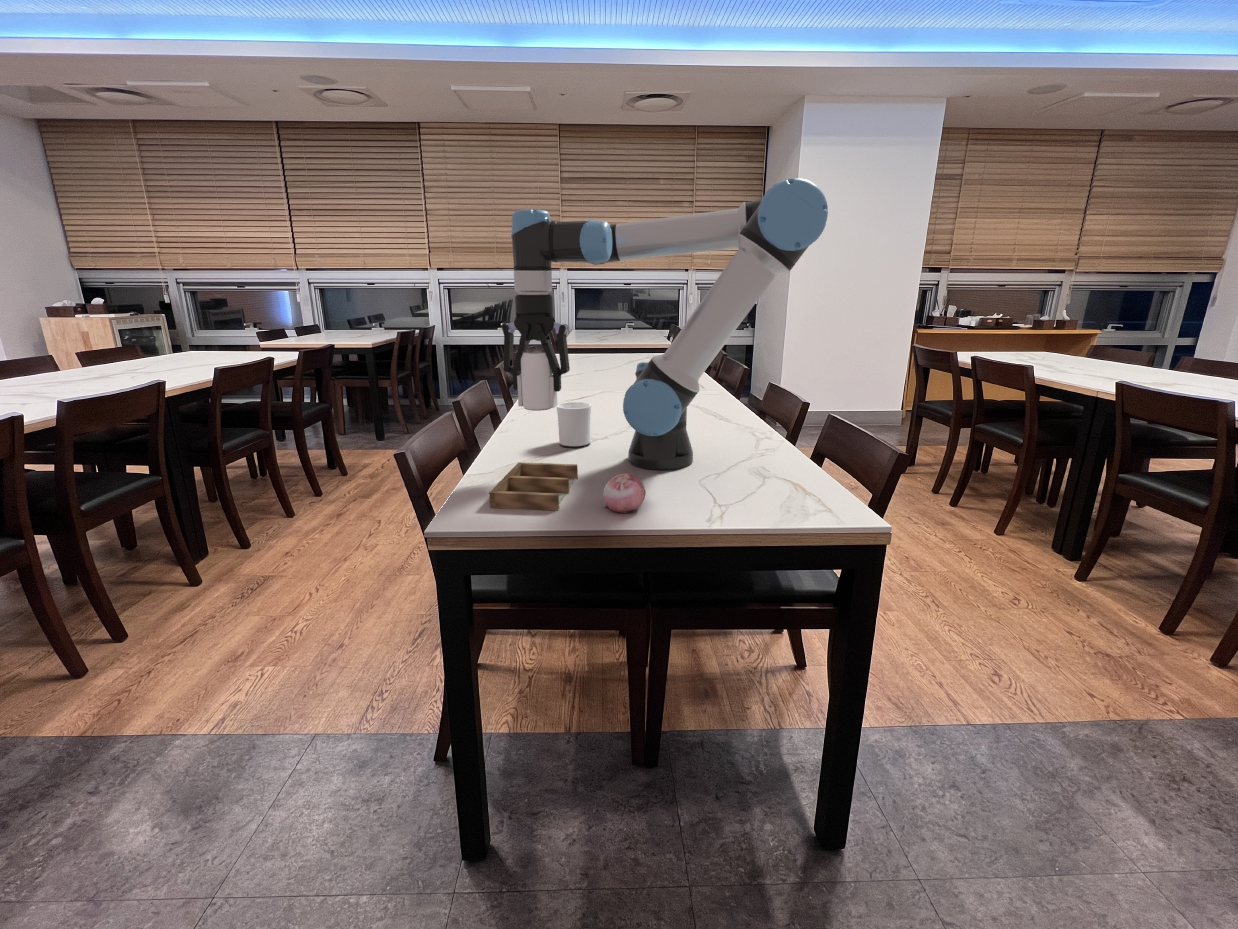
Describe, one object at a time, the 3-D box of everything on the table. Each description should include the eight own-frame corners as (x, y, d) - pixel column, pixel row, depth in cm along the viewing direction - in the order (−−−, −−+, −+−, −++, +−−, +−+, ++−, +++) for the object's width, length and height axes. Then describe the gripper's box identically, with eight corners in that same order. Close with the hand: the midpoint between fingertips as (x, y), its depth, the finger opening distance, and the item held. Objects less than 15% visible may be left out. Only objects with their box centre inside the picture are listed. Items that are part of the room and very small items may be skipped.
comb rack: (577, 477, 126) (577, 464, 125) (558, 510, 108) (557, 495, 107) (519, 475, 128) (518, 462, 127) (490, 507, 110) (489, 492, 109)
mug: (591, 448, 148) (590, 408, 145) (555, 448, 148) (554, 408, 145) (593, 437, 158) (592, 400, 155) (560, 437, 158) (559, 400, 155)
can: (546, 411, 122) (544, 353, 118) (517, 409, 123) (515, 352, 119) (557, 405, 128) (556, 349, 124) (529, 403, 129) (527, 348, 125)
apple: (619, 523, 105) (605, 489, 102) (603, 512, 112) (590, 479, 109) (656, 503, 107) (644, 469, 105) (638, 494, 114) (626, 461, 112)
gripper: (584, 293, 120) (586, 404, 127) (495, 292, 123) (501, 400, 130) (575, 294, 113) (577, 411, 120) (481, 293, 116) (488, 407, 123)
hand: (538, 405), depth 125 cm, fingers closed on can, 6 cm apart
